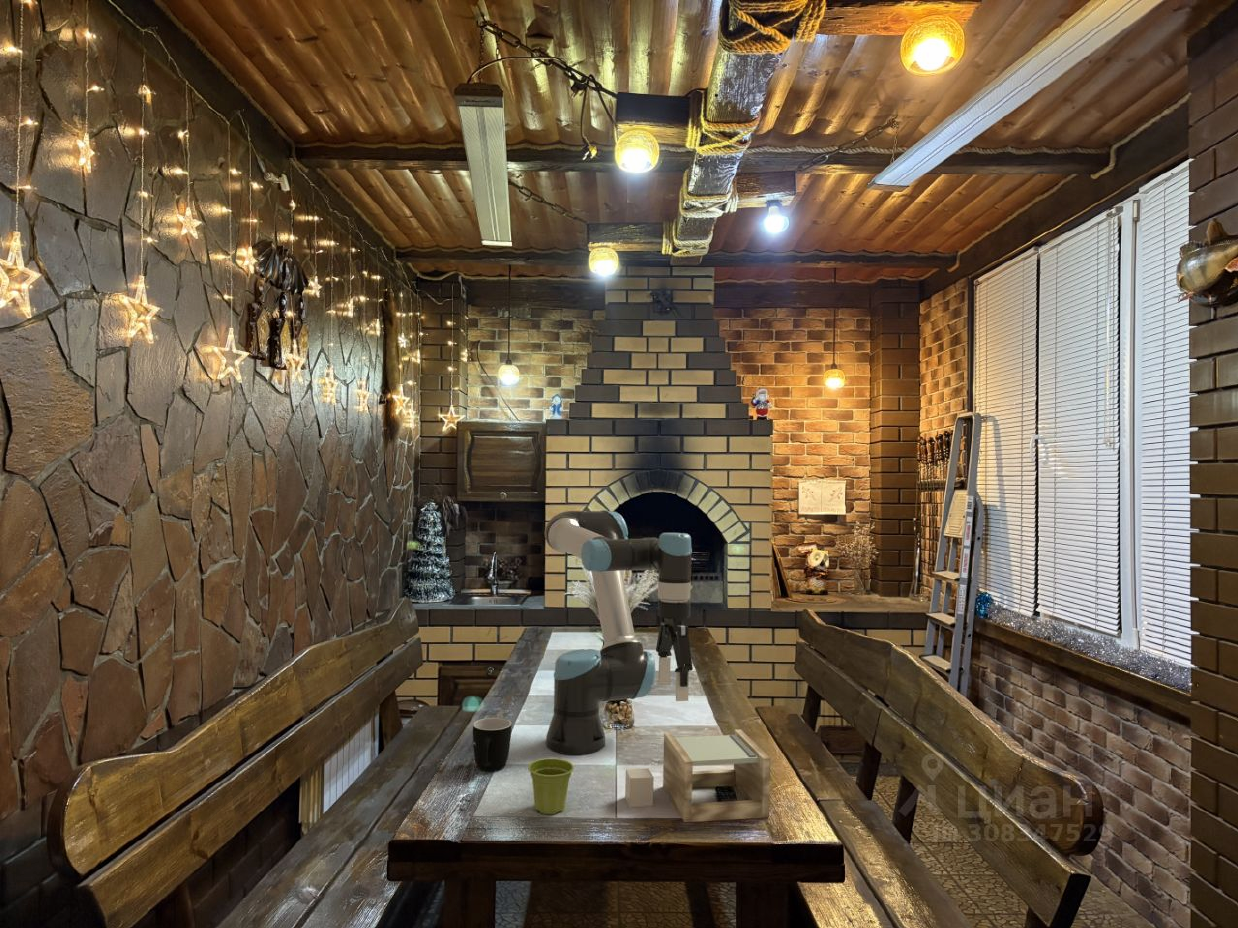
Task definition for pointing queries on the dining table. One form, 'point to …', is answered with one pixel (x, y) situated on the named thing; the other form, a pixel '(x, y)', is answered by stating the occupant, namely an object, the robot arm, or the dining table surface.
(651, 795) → the beige block
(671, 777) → the hatch frame
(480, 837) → the dining table surface
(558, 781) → the plant pot
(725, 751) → the trapdoor
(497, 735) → the mug
